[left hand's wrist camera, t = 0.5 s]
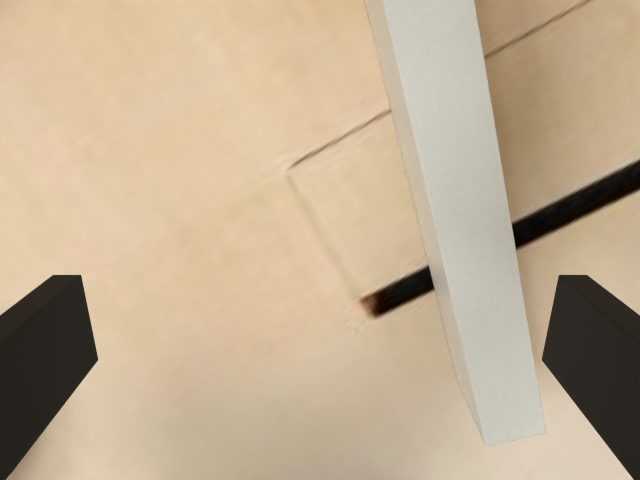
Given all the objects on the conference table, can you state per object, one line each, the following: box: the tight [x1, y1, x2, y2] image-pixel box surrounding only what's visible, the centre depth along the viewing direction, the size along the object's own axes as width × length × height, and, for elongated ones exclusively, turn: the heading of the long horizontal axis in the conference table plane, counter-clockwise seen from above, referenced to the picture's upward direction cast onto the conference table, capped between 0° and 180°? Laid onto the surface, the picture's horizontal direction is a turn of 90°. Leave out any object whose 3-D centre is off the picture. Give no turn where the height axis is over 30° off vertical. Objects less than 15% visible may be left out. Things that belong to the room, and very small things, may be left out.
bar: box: [364, 0, 546, 446], centre depth 30 cm, size 58×5×8 cm, turn 17°
